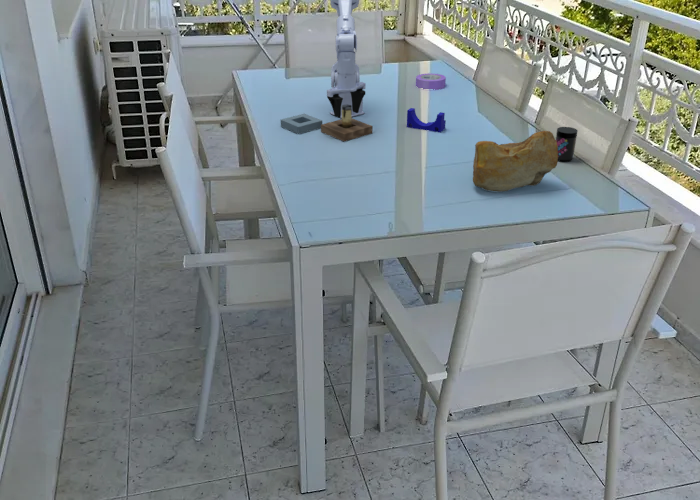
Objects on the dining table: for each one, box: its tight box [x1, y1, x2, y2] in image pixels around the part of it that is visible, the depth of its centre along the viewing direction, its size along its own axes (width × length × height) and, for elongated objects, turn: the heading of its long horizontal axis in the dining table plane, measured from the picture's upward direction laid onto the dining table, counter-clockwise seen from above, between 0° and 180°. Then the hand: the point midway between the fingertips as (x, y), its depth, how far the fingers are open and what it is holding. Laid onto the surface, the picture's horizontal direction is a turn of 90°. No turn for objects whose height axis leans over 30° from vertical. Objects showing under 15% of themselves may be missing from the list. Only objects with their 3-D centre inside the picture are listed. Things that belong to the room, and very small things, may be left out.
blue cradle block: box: [406, 107, 447, 134], centre depth 233 cm, size 12×4×6 cm, turn 63°
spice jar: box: [341, 105, 353, 129], centre depth 228 cm, size 3×3×9 cm
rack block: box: [279, 113, 323, 135], centre depth 235 cm, size 10×10×2 cm
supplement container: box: [555, 126, 579, 163], centre depth 207 cm, size 6×6×9 cm
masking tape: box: [415, 72, 447, 91], centre depth 278 cm, size 12×12×4 cm
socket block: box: [320, 118, 373, 142], centre depth 230 cm, size 12×12×2 cm
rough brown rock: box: [472, 130, 559, 193], centre depth 192 cm, size 23×17×15 cm
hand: (346, 114), depth 228 cm, fingers open, 7 cm apart
